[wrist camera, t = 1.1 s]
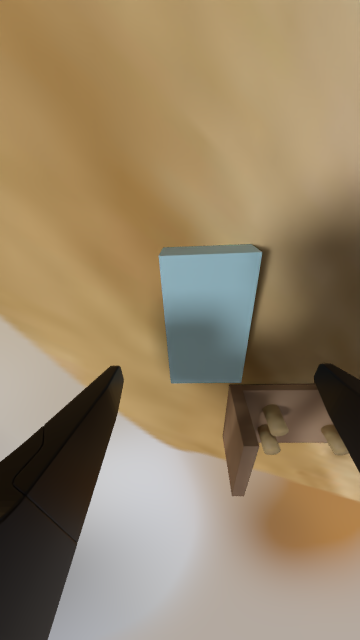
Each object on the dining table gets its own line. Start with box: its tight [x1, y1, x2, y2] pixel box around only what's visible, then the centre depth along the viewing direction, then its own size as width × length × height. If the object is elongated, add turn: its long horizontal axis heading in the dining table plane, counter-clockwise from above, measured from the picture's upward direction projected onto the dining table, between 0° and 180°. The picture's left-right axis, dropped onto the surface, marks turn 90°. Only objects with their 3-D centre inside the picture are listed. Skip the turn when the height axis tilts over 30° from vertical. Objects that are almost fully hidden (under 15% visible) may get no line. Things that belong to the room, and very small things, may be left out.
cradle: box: [223, 384, 349, 496], centre depth 17 cm, size 14×8×5 cm, turn 92°
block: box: [159, 244, 262, 383], centre depth 13 cm, size 9×5×2 cm, turn 2°
